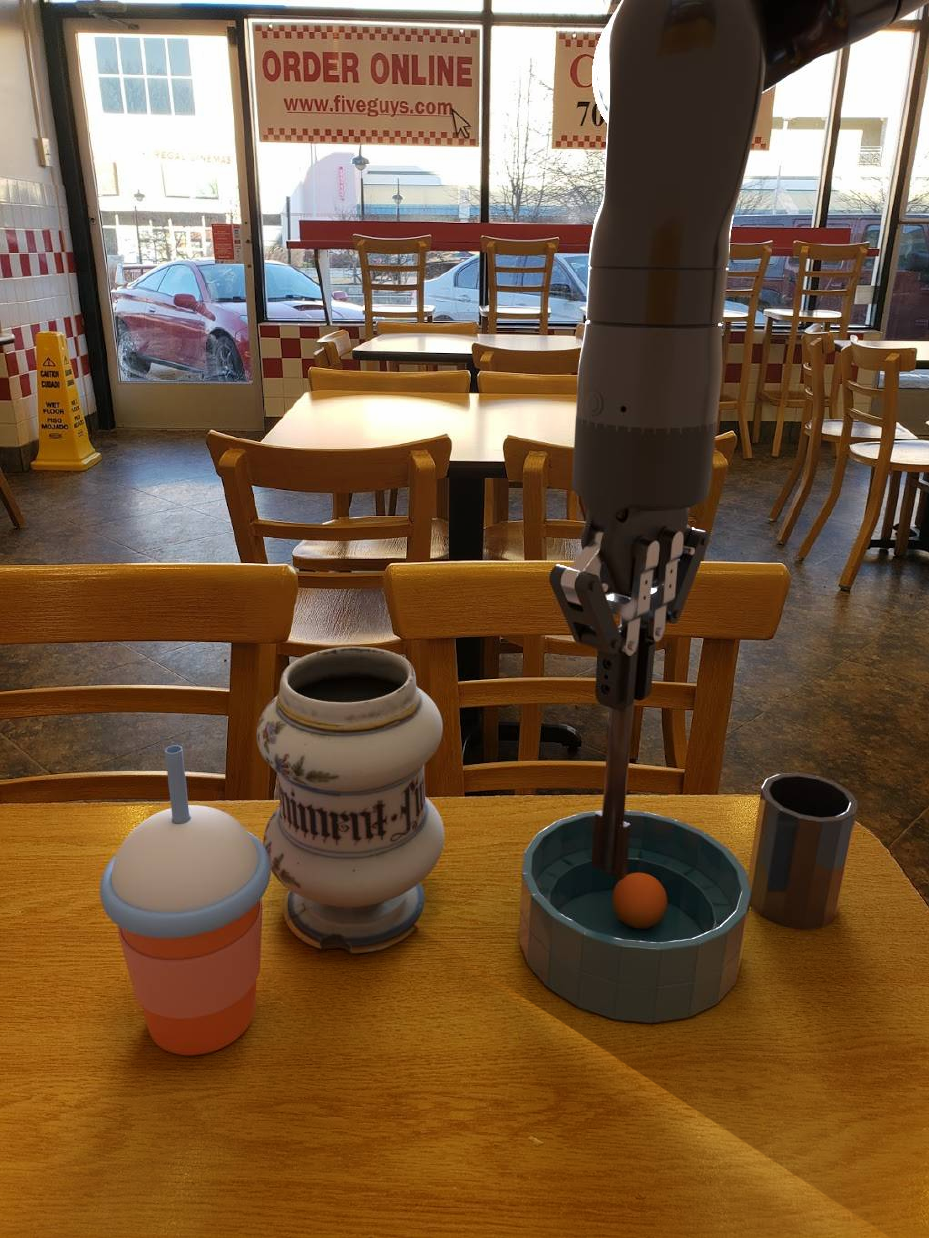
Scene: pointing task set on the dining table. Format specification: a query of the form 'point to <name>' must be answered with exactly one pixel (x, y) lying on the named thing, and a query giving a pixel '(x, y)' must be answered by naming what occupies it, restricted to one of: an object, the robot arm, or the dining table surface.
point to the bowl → (622, 955)
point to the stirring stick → (615, 796)
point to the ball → (639, 900)
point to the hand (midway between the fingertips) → (623, 699)
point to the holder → (800, 849)
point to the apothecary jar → (351, 797)
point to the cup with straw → (190, 919)
